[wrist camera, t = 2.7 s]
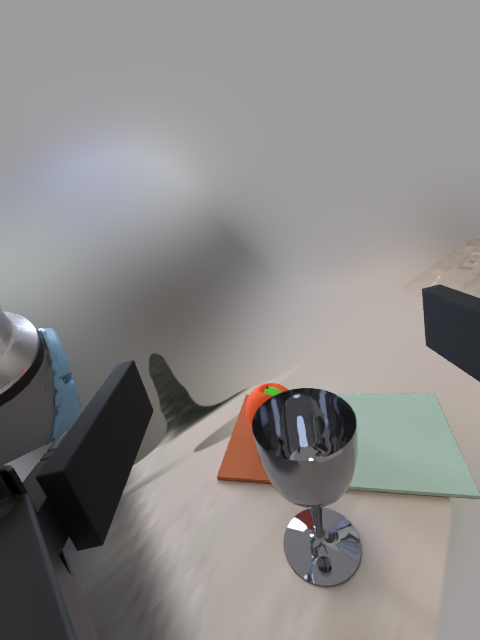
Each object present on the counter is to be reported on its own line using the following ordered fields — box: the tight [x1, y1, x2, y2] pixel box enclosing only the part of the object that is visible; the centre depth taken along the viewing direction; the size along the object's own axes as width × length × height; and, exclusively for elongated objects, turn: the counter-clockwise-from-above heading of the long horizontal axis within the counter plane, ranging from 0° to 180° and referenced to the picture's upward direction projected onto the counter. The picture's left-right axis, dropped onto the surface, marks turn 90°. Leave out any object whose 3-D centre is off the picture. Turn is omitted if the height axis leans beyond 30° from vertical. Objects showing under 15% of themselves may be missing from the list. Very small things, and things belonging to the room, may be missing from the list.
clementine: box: [246, 383, 288, 426], centre depth 43 cm, size 8×7×7 cm
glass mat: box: [338, 393, 480, 499], centre depth 40 cm, size 13×16×1 cm
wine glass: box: [252, 388, 361, 586], centre depth 28 cm, size 8×8×15 cm
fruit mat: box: [217, 395, 272, 484], centre depth 45 cm, size 13×16×1 cm
